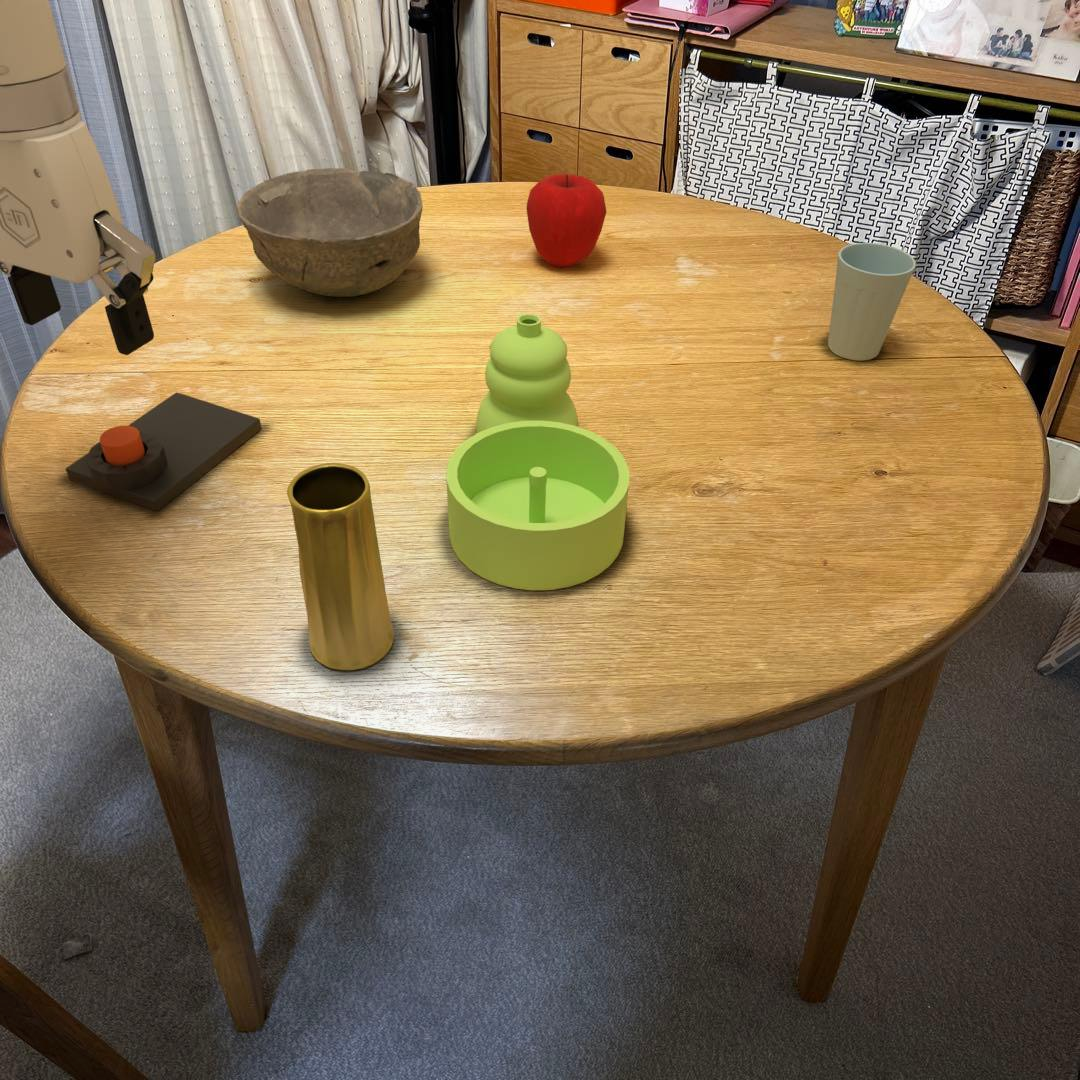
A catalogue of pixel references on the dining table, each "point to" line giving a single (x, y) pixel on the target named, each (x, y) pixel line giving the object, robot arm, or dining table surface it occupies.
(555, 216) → the apple
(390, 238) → the bowl
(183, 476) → the button base plate
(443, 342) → the dining table surface
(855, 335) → the cup
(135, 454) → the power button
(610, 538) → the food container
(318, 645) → the vase
